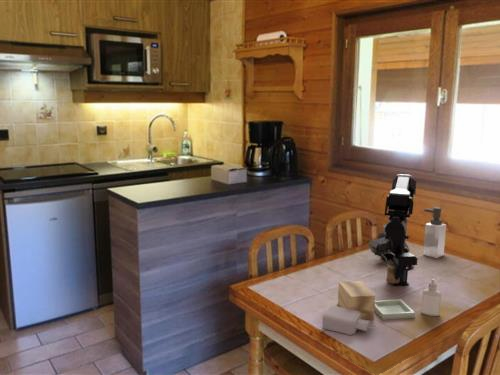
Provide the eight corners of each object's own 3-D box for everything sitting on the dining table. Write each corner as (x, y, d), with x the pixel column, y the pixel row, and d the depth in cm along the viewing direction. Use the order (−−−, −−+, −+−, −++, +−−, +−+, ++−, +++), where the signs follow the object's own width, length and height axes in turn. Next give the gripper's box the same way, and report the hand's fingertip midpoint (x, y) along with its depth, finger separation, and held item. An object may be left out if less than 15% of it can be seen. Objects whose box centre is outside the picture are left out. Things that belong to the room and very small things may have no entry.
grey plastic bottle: (371, 341, 135) (322, 329, 142) (378, 328, 143) (331, 317, 150) (372, 327, 134) (322, 315, 141) (379, 314, 142) (332, 303, 149)
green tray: (400, 304, 159) (400, 299, 159) (414, 317, 149) (415, 312, 149) (370, 305, 158) (370, 301, 157) (382, 319, 148) (382, 314, 148)
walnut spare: (396, 278, 154) (397, 258, 153) (401, 283, 150) (403, 262, 149) (384, 279, 153) (385, 259, 152) (389, 283, 149) (391, 263, 148)
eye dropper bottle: (434, 318, 149) (437, 283, 146) (418, 312, 153) (421, 278, 151) (441, 314, 151) (444, 280, 149) (426, 308, 156) (428, 275, 153)
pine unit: (359, 301, 161) (360, 280, 159) (373, 318, 148) (375, 295, 147) (337, 303, 159) (338, 281, 158) (350, 320, 147) (351, 296, 146)
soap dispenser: (425, 250, 215) (428, 204, 211) (443, 255, 209) (447, 208, 205) (418, 253, 211) (422, 206, 207) (436, 258, 205) (441, 210, 200)
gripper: (362, 224, 156) (359, 267, 159) (385, 240, 138) (382, 289, 141) (393, 223, 158) (390, 266, 161) (420, 239, 140) (416, 287, 143)
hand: (393, 276), depth 151 cm, fingers closed on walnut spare, 4 cm apart
